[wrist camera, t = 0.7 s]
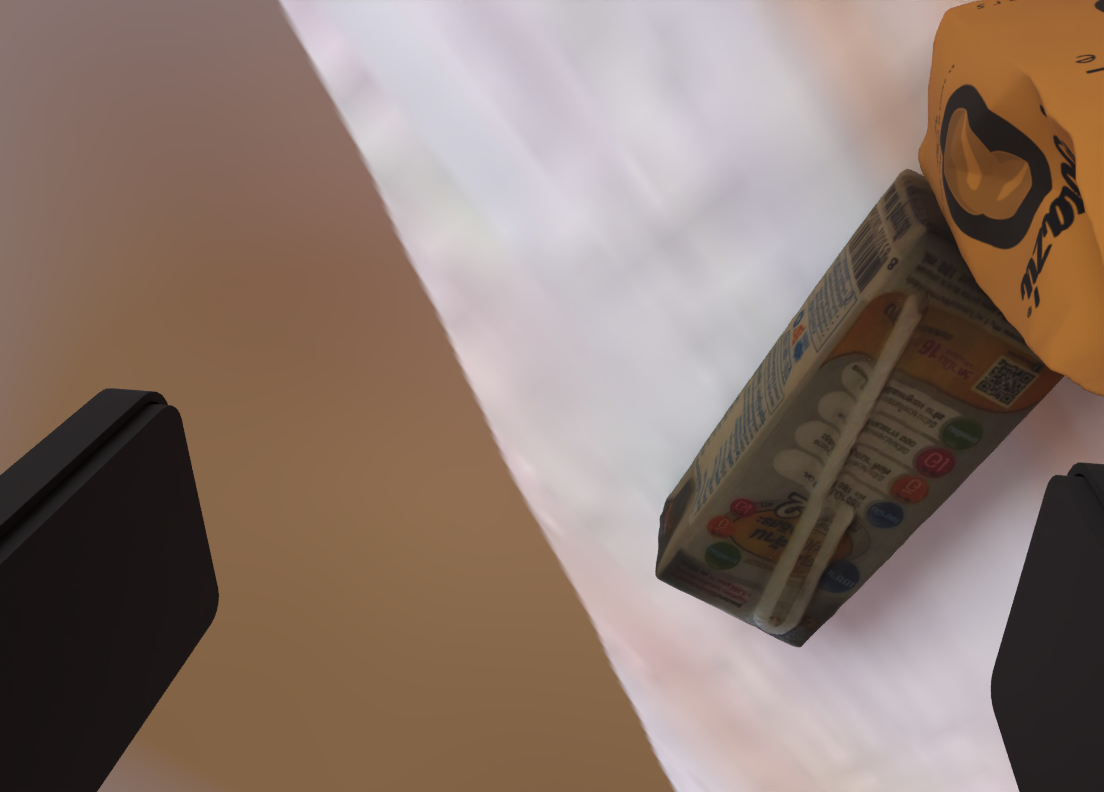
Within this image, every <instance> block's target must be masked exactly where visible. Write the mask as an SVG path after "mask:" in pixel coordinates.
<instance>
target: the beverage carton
mask: <svg viewBox="0 0 1104 792" xmlns="http://www.w3.org/2000/svg"><path fill="white" fill-rule="evenodd" d="M1063 377H1064V375H1063V374H1060V373H1057V372H1055V371H1052V370H1050V369H1049V368H1048V367H1047V366H1046V364H1045V363H1044V362H1043V361H1042V360H1041V359H1040V358H1039V356H1037V355H1036V354H1035V353H1034V352H1033V351H1032V350H1031V349H1030V348H1029V346H1028V345H1027V344H1026V342H1025V340H1024V338H1023V337H1022V335H1021V334H1020V333H1019V332H1018V330H1017V329H1016V328H1015V327H1014V326H1013V325H1012V324H1010V323H1009V322H1008V321H1007V319H1006V318H1005V316H1004V315H1003V313H1002V312H1001V311H1000V310H999V308H998V307H997V306H996V305H995V304H994V303H993V301H992V300H991V299H990V297H989V296H988V295H987V294H986V293H985V292H984V291H983V290H982V289H981V288H980V287H979V285H978V284H977V282H976V280H975V278H974V276H973V274H972V273H971V271H970V269H969V267H968V265H967V264H966V262H965V260H964V259H963V257H962V255H961V253H960V250H959V248H958V245H957V243H956V240H955V238H954V236H953V233H952V231H951V229H950V227H949V225H948V223H947V221H946V219H945V217H944V215H943V213H942V211H941V209H940V206H939V204H938V202H937V199H936V196H935V194H934V192H933V190H932V188H931V186H930V184H929V182H928V181H927V180H926V179H925V177H924V176H922V175H920V174H918V173H916V172H914V171H912V170H909V169H906V170H904V171H902V172H901V173H900V174H899V176H898V177H897V178H896V180H895V181H894V183H893V184H892V185H891V187H890V188H889V189H888V190H887V191H886V193H885V194H884V195H883V196H882V198H881V199H880V200H879V201H878V203H877V204H876V205H875V207H874V208H873V209H872V211H871V212H870V213H869V215H868V216H867V217H866V219H865V220H864V221H863V223H862V224H861V225H860V227H859V228H858V229H857V231H856V232H855V233H854V235H853V236H852V237H851V239H850V240H849V242H848V243H847V244H846V246H845V247H844V248H843V250H842V251H841V253H840V254H839V255H838V257H837V258H836V259H835V261H834V262H833V264H832V265H831V266H830V268H829V269H828V270H827V272H826V273H825V275H824V276H823V277H822V279H821V280H820V282H819V283H818V284H817V286H816V287H815V288H814V290H813V291H812V293H811V294H810V296H809V297H808V298H807V300H806V301H805V303H804V304H803V306H802V307H801V309H800V310H799V312H798V313H797V314H796V315H795V317H794V318H793V319H792V320H791V322H790V323H789V325H788V327H787V328H786V330H785V331H784V332H783V334H782V335H781V336H780V337H779V339H778V340H777V342H776V343H775V345H774V346H773V348H772V349H771V350H770V352H769V353H768V355H767V356H766V358H765V359H764V360H763V362H762V363H761V365H760V366H759V367H758V369H757V370H756V372H755V373H754V375H753V376H752V377H751V379H750V380H749V381H748V383H747V384H746V386H745V387H744V388H743V390H742V391H741V393H740V394H739V395H738V397H737V398H736V400H735V401H734V402H733V404H732V405H731V407H730V408H729V409H728V411H727V412H726V414H725V415H724V417H723V418H722V420H721V421H720V423H719V424H718V425H717V427H716V428H715V430H714V431H713V432H712V434H711V435H710V437H709V438H708V439H707V441H706V442H705V444H704V446H703V447H702V449H701V450H700V452H699V453H698V455H697V456H696V458H695V460H694V461H693V463H692V465H691V466H690V468H689V469H688V471H687V472H686V473H685V475H684V476H683V477H682V479H681V480H680V482H679V483H678V485H677V486H676V487H675V489H674V490H673V491H672V493H671V494H670V495H669V496H668V498H667V499H666V502H665V505H664V509H663V512H662V514H661V516H660V528H659V535H658V555H657V561H656V571H655V572H656V577H657V578H658V579H659V580H661V581H663V582H665V583H667V584H668V585H670V586H672V587H674V588H676V589H678V590H680V591H683V592H685V593H687V594H689V595H692V596H694V597H696V598H697V599H700V600H702V601H704V602H706V603H708V604H710V605H712V606H714V607H716V608H718V609H720V610H722V611H724V612H726V613H728V614H730V615H732V616H734V617H736V618H738V619H740V620H742V621H744V622H746V623H748V624H750V625H753V626H755V627H757V628H758V629H760V630H762V631H764V632H765V633H767V634H769V635H771V636H773V637H775V638H777V639H779V640H781V641H783V642H785V643H788V644H790V645H792V646H795V647H802V645H803V644H804V643H805V642H806V641H807V640H808V639H809V638H810V637H811V636H812V635H813V634H814V633H815V632H816V631H817V630H818V629H819V628H820V627H821V626H822V625H823V624H824V623H825V622H826V621H827V620H829V619H830V618H831V617H832V616H833V615H834V614H835V613H836V611H837V610H838V609H839V608H840V607H841V605H843V604H844V603H845V602H846V601H847V600H848V599H849V598H850V597H851V596H852V595H853V594H855V593H856V592H857V591H858V590H859V589H860V588H861V586H862V585H863V584H864V583H865V582H866V581H867V580H868V579H869V578H870V577H871V576H872V575H873V574H874V573H875V572H876V571H877V570H878V569H879V568H880V567H881V566H882V565H883V564H884V563H885V562H886V561H887V560H888V559H889V558H890V557H891V556H892V555H893V554H894V553H895V551H896V550H897V549H898V548H899V547H901V546H902V545H903V544H904V543H905V541H906V540H907V539H908V538H909V537H910V536H911V535H912V534H913V533H914V532H915V530H916V529H917V528H918V527H919V526H920V525H921V524H922V523H923V522H925V521H926V520H927V519H928V518H929V517H930V516H931V515H932V514H933V513H934V512H935V511H936V510H937V509H938V508H939V507H940V506H941V505H942V504H943V503H944V502H945V501H946V500H947V499H948V498H949V497H950V496H951V495H952V494H953V493H954V492H955V491H956V490H957V488H958V487H959V486H960V485H961V484H962V483H963V482H964V481H965V480H966V479H967V477H968V476H969V475H970V474H971V473H972V472H973V471H974V470H975V469H976V468H977V467H978V466H979V465H980V464H981V463H982V462H983V461H984V460H985V459H986V458H987V457H988V456H989V455H990V454H991V453H992V452H993V451H994V450H995V449H996V448H997V446H998V445H999V444H1000V443H1001V442H1002V441H1003V440H1004V439H1005V438H1006V437H1007V436H1008V435H1009V433H1010V432H1011V431H1012V430H1013V429H1014V428H1015V427H1016V426H1017V425H1018V424H1019V423H1020V422H1021V421H1022V420H1023V419H1024V418H1025V417H1026V416H1027V415H1028V414H1029V413H1030V412H1031V411H1032V409H1033V408H1034V407H1035V406H1036V405H1037V404H1038V403H1039V402H1040V401H1041V400H1042V399H1043V398H1044V397H1045V396H1046V395H1047V394H1048V393H1049V392H1050V391H1051V390H1052V389H1053V387H1054V386H1055V385H1056V384H1057V383H1058V382H1059V381H1060V380H1061V379H1062V378H1063Z"/></svg>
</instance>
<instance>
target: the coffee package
mask: <svg viewBox="0 0 1104 792" xmlns="http://www.w3.org/2000/svg"><path fill="white" fill-rule="evenodd" d="M918 159H919V163H920V167H921V170H922V172H923V175H924V177H925V179H926V180H927V181H928V182H929V184H930V186H931V188H932V190H933V192H934V194H935V196H936V199H937V202H938V204H939V206H940V209H941V211H942V213H943V215H944V217H945V219H946V221H947V223H948V225H949V227H950V229H951V231H952V233H953V236H954V238H955V240H956V243H957V245H958V248H959V250H960V253H961V255H962V257H963V259H964V260H965V262H966V264H967V265H968V267H969V269H970V271H971V273H972V274H973V276H974V278H975V280H976V282H977V284H978V285H979V287H980V288H981V289H982V290H983V291H984V292H985V293H986V294H987V295H988V296H989V297H990V299H991V300H992V301H993V303H994V304H995V305H996V306H997V307H998V308H999V310H1000V311H1001V312H1002V313H1003V315H1004V316H1005V318H1006V319H1007V321H1008V322H1009V323H1010V324H1012V325H1013V326H1014V327H1015V328H1016V329H1017V330H1018V332H1019V333H1020V334H1021V335H1022V337H1023V338H1024V340H1025V342H1026V344H1027V345H1028V346H1029V348H1030V349H1031V350H1032V351H1033V352H1034V353H1035V354H1036V355H1037V356H1039V358H1040V359H1041V360H1042V361H1043V362H1044V363H1045V364H1046V366H1047V367H1048V368H1049V369H1050V370H1052V371H1055V372H1057V373H1060V374H1063V375H1064V376H1066V377H1068V378H1070V379H1071V380H1072V381H1073V382H1074V383H1076V384H1078V385H1080V386H1081V387H1082V388H1083V389H1084V390H1086V391H1089V392H1091V393H1094V394H1096V395H1100V396H1104V0H981V1H975V2H971V3H967V4H964V5H961V6H957V7H954V8H951V9H949V10H947V11H946V12H945V14H944V16H943V18H942V20H941V23H940V25H939V28H938V30H937V33H936V36H935V40H934V44H933V56H932V67H931V73H930V80H929V86H928V129H927V133H926V136H925V139H924V140H923V142H922V145H921V147H920V148H919V157H918Z"/></svg>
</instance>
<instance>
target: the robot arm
mask: <svg viewBox="0 0 1104 792" xmlns="http://www.w3.org/2000/svg"><path fill="white" fill-rule="evenodd" d="M218 598H219V593H218V586H217V581H216V577H215V572H214V567H213V563H212V559H211V553H210V549H209V544H208V539H207V535H206V530H205V526H204V521H203V517H202V511H201V507H200V502H199V498H198V493H197V488H196V484H195V479H194V474H193V470H192V465H191V460H190V456H189V451H188V446H187V442H186V437H185V433H184V428H183V423H182V419H181V416H180V413H179V412H178V410H177V409H176V408H175V407H173V406H171V405H168V404H167V401H166V400H165V398H164V397H163V396H162V395H161V394H159V393H158V392H152V391H140V390H127V389H113V388H111V389H105V390H103V391H101V392H99V393H98V394H97V395H96V396H94V397H93V398H92V399H91V400H90V401H88V402H87V403H86V404H85V405H84V406H83V407H82V408H80V409H79V410H78V411H77V412H75V413H74V414H73V415H72V416H71V417H69V418H68V419H67V420H66V421H65V422H64V423H62V424H61V425H60V426H59V427H57V428H56V429H55V430H54V431H53V432H52V433H50V434H49V435H48V436H47V437H45V438H44V439H43V440H42V441H41V442H40V443H39V444H37V445H36V446H35V447H34V448H32V449H31V450H30V451H29V452H28V453H26V454H25V455H24V456H23V457H22V458H20V459H19V460H18V461H17V462H16V463H14V464H13V465H12V466H11V467H10V468H9V469H7V470H6V471H5V472H4V473H3V474H1V475H0V792H97V791H98V789H99V788H100V787H101V785H102V784H103V782H104V780H105V779H106V778H107V776H108V775H109V773H110V772H111V770H112V769H113V767H114V766H115V765H116V763H117V761H118V760H119V758H120V757H121V756H122V754H123V753H124V751H125V750H126V748H127V747H128V745H129V744H130V742H131V741H132V740H133V738H134V737H135V735H136V733H137V732H138V731H139V729H140V728H141V726H142V725H143V723H144V722H145V720H146V719H147V717H148V716H149V714H150V713H151V711H152V710H153V709H154V707H155V706H156V704H157V703H158V701H159V700H160V698H161V697H162V695H163V694H164V692H165V691H166V689H167V688H168V687H169V685H170V683H171V682H172V681H173V679H174V678H175V676H176V675H177V673H178V672H179V670H180V669H181V667H182V666H183V665H184V663H185V661H186V660H187V658H188V657H189V656H190V654H191V653H192V651H193V650H194V648H195V647H196V645H197V644H198V642H199V641H200V639H201V638H202V637H203V635H204V633H205V632H206V631H207V629H208V628H209V626H210V625H211V623H212V621H213V619H214V617H215V614H216V611H217V607H218V600H219V599H218ZM991 699H992V706H993V710H994V713H995V717H996V720H997V723H998V726H999V729H1000V732H1001V735H1002V738H1003V742H1004V745H1005V748H1006V751H1007V754H1008V757H1009V760H1010V763H1011V767H1012V770H1013V773H1014V776H1015V779H1016V782H1017V785H1018V788H1019V792H1104V464H1092V463H1077V464H1075V465H1073V467H1072V468H1071V469H1070V471H1069V472H1068V475H1067V476H1062V475H1055V476H1053V477H1052V478H1051V480H1050V481H1049V483H1048V485H1047V488H1046V491H1045V494H1044V498H1043V501H1042V505H1041V508H1040V511H1039V515H1038V518H1037V522H1036V525H1035V529H1034V532H1033V535H1032V539H1031V542H1030V546H1029V549H1028V553H1027V556H1026V559H1025V563H1024V566H1023V570H1022V573H1021V577H1020V580H1019V583H1018V587H1017V590H1016V594H1015V597H1014V601H1013V604H1012V607H1011V611H1010V614H1009V618H1008V621H1007V625H1006V628H1005V631H1004V635H1003V638H1002V642H1001V645H1000V649H999V652H998V655H997V659H996V662H995V666H994V669H993V673H992V679H991Z"/></svg>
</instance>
